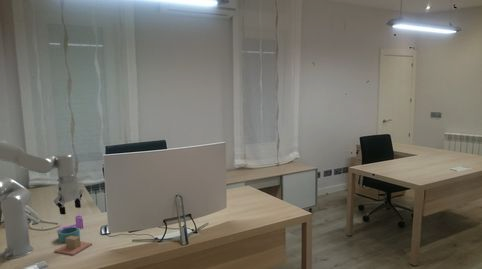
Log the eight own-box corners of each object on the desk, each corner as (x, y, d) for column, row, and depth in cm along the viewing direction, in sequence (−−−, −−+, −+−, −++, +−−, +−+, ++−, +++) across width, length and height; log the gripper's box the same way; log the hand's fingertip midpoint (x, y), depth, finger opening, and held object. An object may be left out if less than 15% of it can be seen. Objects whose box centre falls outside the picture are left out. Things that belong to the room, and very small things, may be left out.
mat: (73, 256, 168) (73, 255, 168) (53, 253, 172) (53, 252, 172) (92, 245, 180) (92, 244, 180) (73, 242, 184) (73, 241, 184)
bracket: (82, 225, 209) (81, 214, 208) (83, 228, 204) (82, 217, 203) (58, 229, 202) (57, 218, 202) (59, 233, 198) (57, 221, 197)
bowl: (69, 244, 182) (68, 235, 181) (54, 241, 185) (53, 233, 184) (83, 236, 191) (83, 228, 191) (69, 234, 195) (68, 226, 194)
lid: (73, 255, 168) (72, 244, 167) (54, 252, 172) (53, 241, 171) (92, 244, 180) (91, 234, 179) (73, 241, 184) (72, 231, 183)
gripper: (58, 183, 164) (62, 217, 166) (85, 174, 180) (89, 205, 182) (46, 182, 166) (50, 216, 168) (74, 174, 182) (78, 204, 184)
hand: (70, 210), depth 175 cm, fingers open, 9 cm apart
